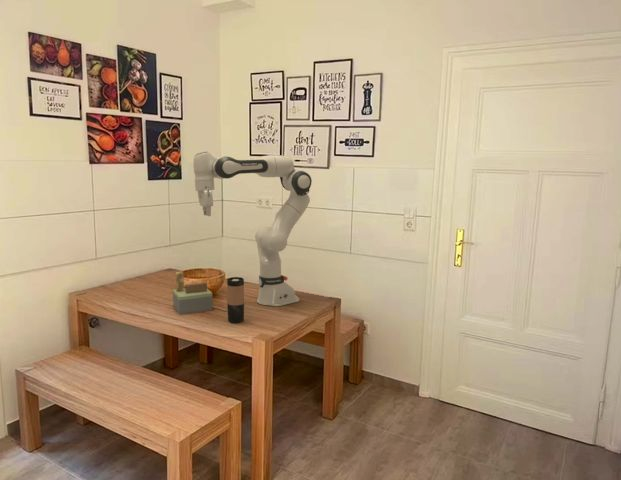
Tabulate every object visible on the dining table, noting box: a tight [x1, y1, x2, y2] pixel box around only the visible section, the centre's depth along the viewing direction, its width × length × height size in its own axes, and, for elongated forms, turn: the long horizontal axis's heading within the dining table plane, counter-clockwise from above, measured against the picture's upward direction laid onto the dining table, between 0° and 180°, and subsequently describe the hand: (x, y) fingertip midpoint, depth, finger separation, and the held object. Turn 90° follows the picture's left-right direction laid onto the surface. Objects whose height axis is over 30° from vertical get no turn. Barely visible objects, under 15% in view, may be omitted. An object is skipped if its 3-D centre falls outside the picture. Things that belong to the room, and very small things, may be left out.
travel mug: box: [226, 276, 245, 324], centre depth 216 cm, size 8×8×20 cm
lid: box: [172, 282, 213, 300], centre depth 230 cm, size 16×14×6 cm
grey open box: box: [172, 292, 214, 315], centre depth 231 cm, size 16×14×8 cm
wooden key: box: [175, 271, 185, 292], centre depth 231 cm, size 3×3×18 cm
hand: (207, 215), depth 224 cm, fingers open, 8 cm apart
